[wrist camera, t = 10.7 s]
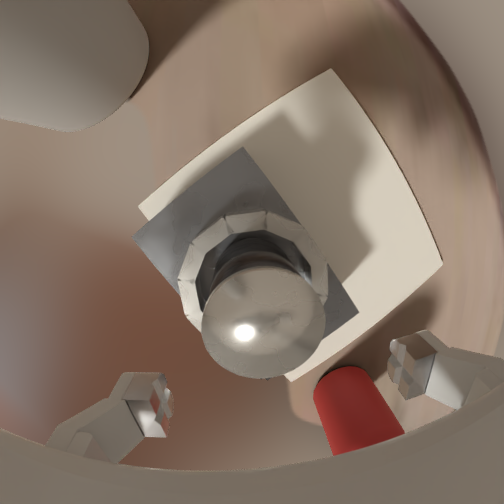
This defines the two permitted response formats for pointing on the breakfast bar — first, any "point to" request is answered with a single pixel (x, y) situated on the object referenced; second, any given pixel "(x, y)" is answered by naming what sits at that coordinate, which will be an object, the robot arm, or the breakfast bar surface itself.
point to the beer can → (353, 411)
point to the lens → (260, 312)
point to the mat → (332, 198)
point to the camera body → (234, 237)
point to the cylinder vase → (68, 60)
